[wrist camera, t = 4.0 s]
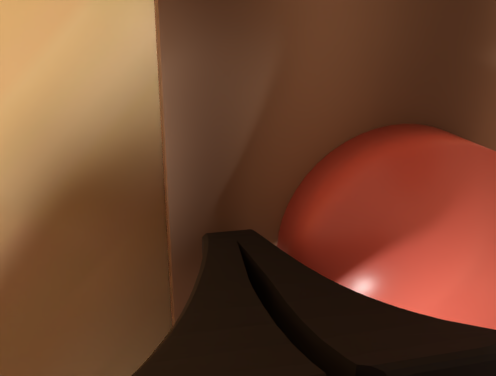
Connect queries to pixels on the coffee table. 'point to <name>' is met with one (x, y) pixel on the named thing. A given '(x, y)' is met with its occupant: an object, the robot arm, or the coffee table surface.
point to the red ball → (402, 221)
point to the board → (301, 99)
